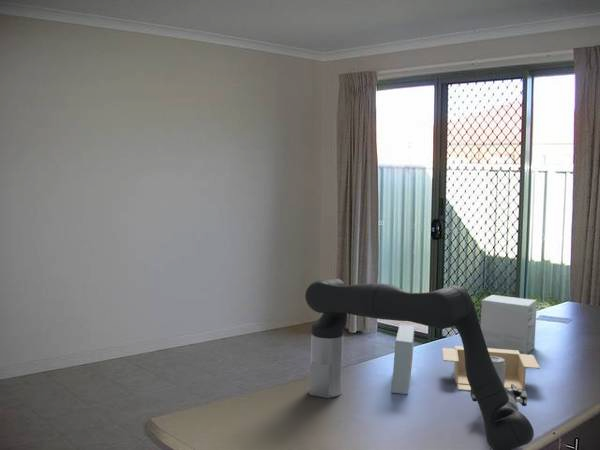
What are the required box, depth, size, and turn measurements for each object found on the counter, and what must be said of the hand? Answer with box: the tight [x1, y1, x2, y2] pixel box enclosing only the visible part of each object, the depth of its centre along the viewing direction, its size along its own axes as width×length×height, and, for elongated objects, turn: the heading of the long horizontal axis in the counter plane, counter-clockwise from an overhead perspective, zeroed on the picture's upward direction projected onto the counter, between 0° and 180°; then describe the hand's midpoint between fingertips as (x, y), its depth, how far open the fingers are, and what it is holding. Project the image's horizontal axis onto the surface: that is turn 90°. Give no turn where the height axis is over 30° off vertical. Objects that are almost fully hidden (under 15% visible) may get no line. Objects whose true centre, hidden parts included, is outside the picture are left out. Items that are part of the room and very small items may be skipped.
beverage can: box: [490, 356, 506, 386], centre depth 195 cm, size 6×6×12 cm
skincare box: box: [390, 323, 415, 395], centre depth 207 cm, size 21×5×16 cm, turn 168°
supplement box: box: [480, 294, 538, 355], centre depth 249 cm, size 17×13×18 cm
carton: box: [442, 345, 541, 392], centre depth 211 cm, size 22×28×8 cm
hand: (496, 386), depth 186 cm, fingers open, 8 cm apart
